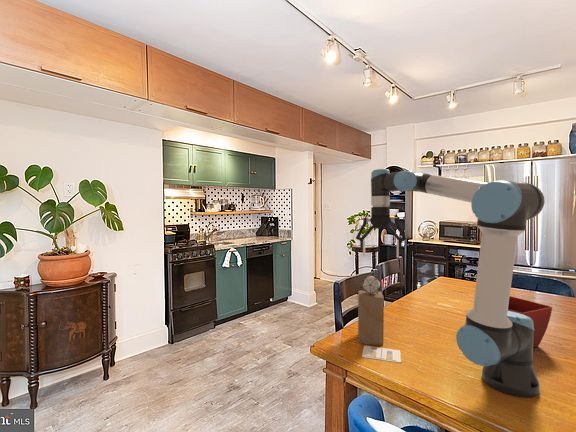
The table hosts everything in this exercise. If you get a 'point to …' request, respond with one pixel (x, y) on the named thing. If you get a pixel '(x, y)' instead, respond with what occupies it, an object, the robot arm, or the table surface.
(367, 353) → the page
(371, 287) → the game die
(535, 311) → the plant pot
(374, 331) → the wooden block
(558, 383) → the table surface
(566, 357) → the table surface
